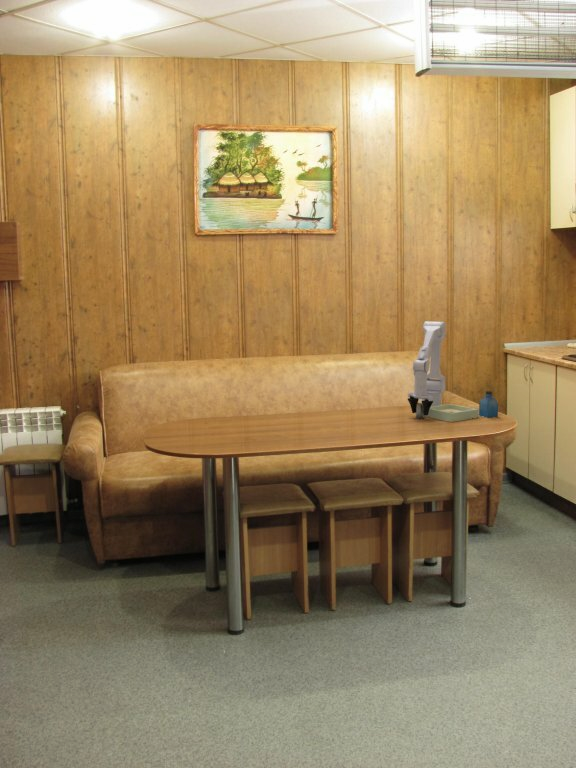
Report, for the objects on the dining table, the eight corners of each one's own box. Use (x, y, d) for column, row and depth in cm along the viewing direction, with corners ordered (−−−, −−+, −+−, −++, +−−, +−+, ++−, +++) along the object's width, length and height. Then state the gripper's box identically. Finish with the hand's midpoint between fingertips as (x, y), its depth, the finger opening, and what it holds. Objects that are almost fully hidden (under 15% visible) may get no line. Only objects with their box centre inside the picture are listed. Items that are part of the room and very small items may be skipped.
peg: (414, 418, 377) (414, 403, 376) (420, 417, 379) (420, 402, 378) (419, 419, 374) (420, 404, 373) (425, 418, 376) (425, 403, 375)
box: (423, 416, 381) (423, 407, 381) (449, 412, 392) (450, 403, 391) (451, 422, 367) (451, 413, 366) (478, 417, 377) (478, 409, 376)
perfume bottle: (478, 415, 382) (479, 390, 381) (489, 414, 385) (490, 389, 383) (487, 417, 377) (488, 392, 375) (497, 416, 379) (498, 391, 378)
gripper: (403, 384, 378) (403, 412, 380) (425, 388, 366) (424, 417, 368) (414, 383, 382) (413, 411, 384) (436, 386, 370) (435, 415, 372)
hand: (420, 414), depth 376 cm, fingers open, 7 cm apart
